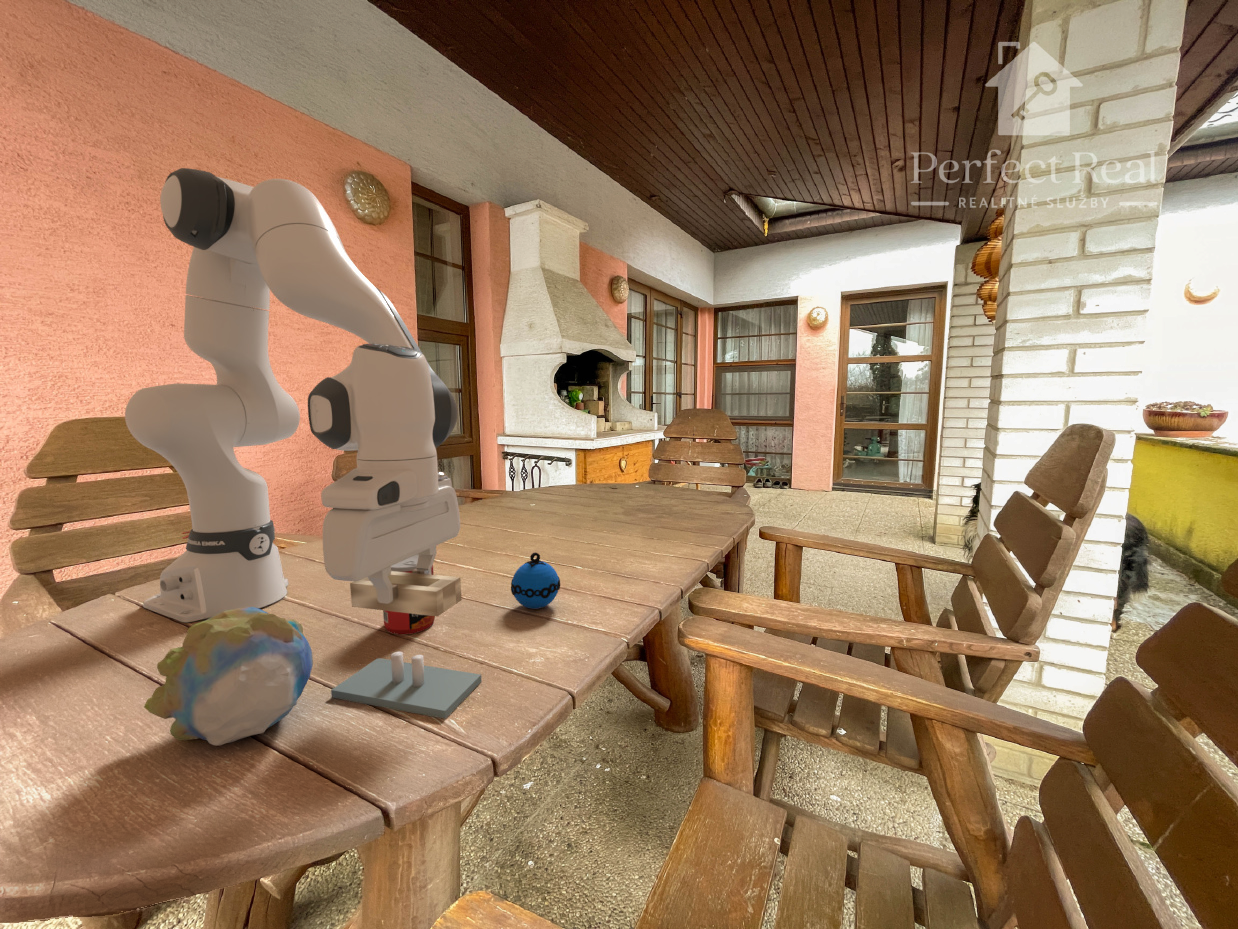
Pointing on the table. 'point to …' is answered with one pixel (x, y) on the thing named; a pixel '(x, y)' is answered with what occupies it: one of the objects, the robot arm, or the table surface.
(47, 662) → the table surface
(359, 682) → the boss board
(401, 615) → the canned food
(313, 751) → the table surface
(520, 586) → the ornament
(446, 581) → the beige wooden rectangular frame
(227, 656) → the decorative rock
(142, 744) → the table surface
